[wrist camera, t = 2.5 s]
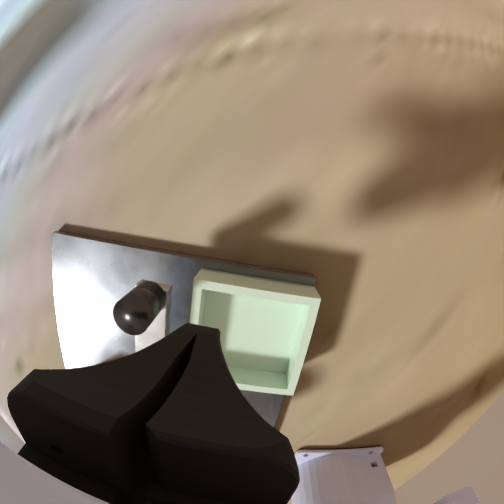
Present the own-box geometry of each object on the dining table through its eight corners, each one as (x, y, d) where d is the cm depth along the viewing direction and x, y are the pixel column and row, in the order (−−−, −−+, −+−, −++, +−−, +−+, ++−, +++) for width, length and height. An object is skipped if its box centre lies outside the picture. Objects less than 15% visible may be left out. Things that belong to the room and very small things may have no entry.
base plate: (313, 274, 18) (327, 296, 14) (265, 445, 22) (265, 478, 18) (58, 230, 18) (23, 240, 14) (77, 398, 21) (59, 422, 18)
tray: (314, 285, 17) (321, 298, 15) (290, 376, 19) (293, 395, 17) (201, 267, 17) (193, 278, 15) (192, 361, 19) (185, 379, 17)
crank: (176, 415, 17) (164, 451, 14) (137, 405, 17) (120, 438, 14) (183, 280, 15) (162, 306, 11) (132, 270, 15) (101, 292, 11)
